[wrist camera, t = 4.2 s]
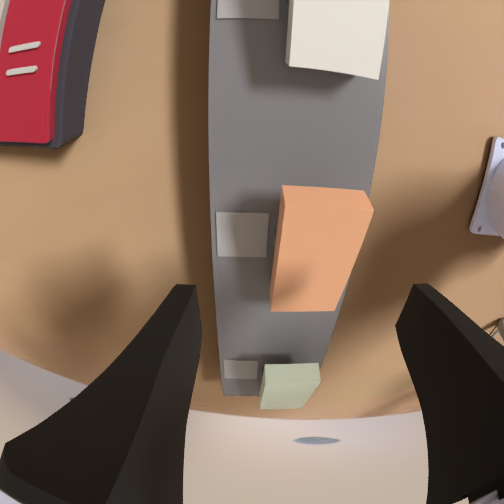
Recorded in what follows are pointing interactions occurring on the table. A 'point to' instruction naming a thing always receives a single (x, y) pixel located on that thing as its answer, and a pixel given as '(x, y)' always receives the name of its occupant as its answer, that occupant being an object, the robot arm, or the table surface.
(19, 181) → the table surface
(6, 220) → the table surface
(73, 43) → the calculator
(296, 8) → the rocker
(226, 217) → the power strip
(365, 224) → the rocker middle
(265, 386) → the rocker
